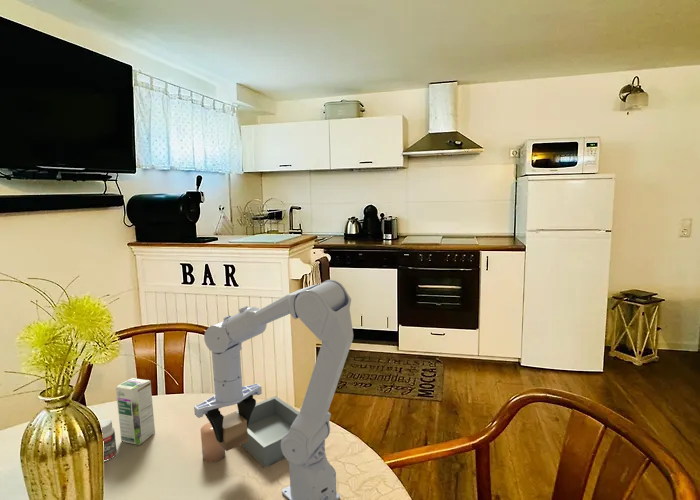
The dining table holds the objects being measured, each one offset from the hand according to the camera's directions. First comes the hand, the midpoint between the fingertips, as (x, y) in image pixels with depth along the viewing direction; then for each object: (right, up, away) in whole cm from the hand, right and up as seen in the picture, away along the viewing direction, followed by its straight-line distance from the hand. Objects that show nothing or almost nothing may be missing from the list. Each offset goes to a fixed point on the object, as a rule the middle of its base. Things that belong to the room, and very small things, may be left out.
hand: (231, 435), depth 93 cm
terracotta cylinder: (-6, -8, +7) cm, 12 cm away
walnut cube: (0, -2, 0) cm, 2 cm away
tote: (+6, -6, +13) cm, 16 cm away
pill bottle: (-31, -8, +7) cm, 33 cm away
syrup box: (-27, -7, +14) cm, 32 cm away
